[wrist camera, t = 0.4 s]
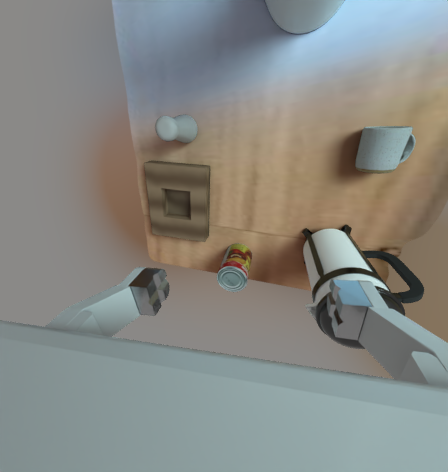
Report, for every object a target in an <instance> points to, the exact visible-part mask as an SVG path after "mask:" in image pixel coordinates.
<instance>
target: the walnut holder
mask: <svg viewBox="0 0 448 472" xmlns="http://www.w3.org/2000/svg"><path fill="white" fill-rule="evenodd" d="M144 167H145V175H146V183H147V192H148V200H149V208H150V217H151V225H152V233H153V234H156V235H162V236H169V237H175V238H182V239H189V240H195V241H202V242H205V241H206V239H207V238H208V236H209V203H210V166H206V165H195V164H184V163H173V162H162V161H149V162H145V163H144Z"/></svg>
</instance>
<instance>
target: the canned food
mask: <svg viewBox="0 0 448 472" xmlns="http://www.w3.org/2000/svg"><path fill="white" fill-rule="evenodd" d="M251 259H252V253H251V251H250V249H249V248H248V247H247V246H245V245H243V244H239V243H237V244H233V245H231V246H229V247H228V249H227V251H226V253H225V256H224V259H223V261H222V264H221V266H220V269H219V271H218V274H217V281H218V283H219V285H220V286H221V287H222V288H224V289H225V290H228V291H232V292H237V291H241V290H243V289H244V288H245V287H246V285H247V282H248V276H249V271H250V265H251Z"/></svg>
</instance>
